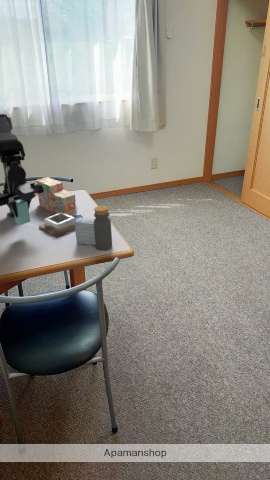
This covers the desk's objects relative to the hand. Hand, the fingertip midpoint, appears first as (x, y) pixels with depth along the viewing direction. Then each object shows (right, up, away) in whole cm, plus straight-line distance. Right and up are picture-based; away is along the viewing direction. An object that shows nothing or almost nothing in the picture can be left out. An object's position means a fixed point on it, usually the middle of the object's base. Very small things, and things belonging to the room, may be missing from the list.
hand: (21, 215), depth 132 cm
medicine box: (+25, -10, -2) cm, 27 cm away
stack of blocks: (+8, +4, +26) cm, 27 cm away
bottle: (+31, -12, -5) cm, 34 cm away
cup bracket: (+12, -4, +10) cm, 16 cm away
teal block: (0, -2, +1) cm, 3 cm away
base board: (+12, -4, +10) cm, 16 cm away
